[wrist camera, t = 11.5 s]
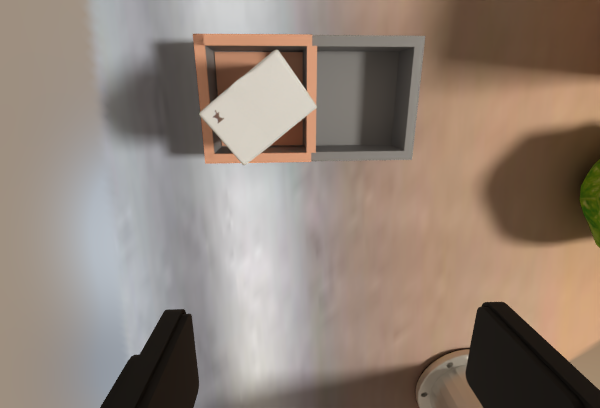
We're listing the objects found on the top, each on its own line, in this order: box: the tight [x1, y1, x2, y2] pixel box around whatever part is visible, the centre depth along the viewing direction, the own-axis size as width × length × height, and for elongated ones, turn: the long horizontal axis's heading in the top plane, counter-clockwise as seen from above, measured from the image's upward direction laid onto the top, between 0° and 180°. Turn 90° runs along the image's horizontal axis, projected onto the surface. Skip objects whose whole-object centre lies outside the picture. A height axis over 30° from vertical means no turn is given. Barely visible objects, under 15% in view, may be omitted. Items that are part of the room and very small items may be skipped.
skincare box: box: [199, 50, 317, 165], centre depth 25 cm, size 6×4×12 cm
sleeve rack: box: [193, 34, 425, 163], centre depth 30 cm, size 18×10×4 cm, turn 90°
